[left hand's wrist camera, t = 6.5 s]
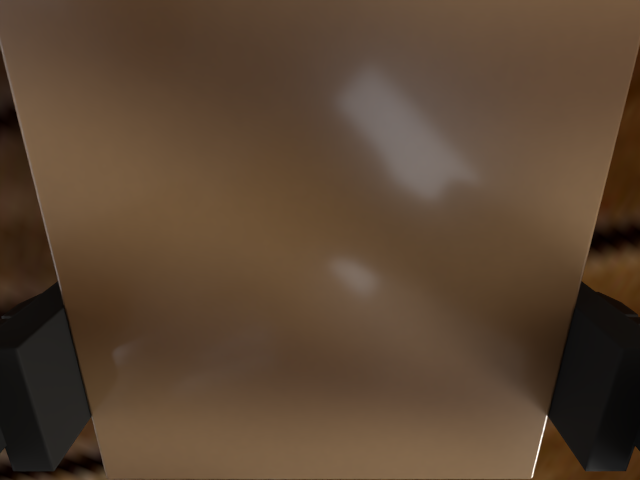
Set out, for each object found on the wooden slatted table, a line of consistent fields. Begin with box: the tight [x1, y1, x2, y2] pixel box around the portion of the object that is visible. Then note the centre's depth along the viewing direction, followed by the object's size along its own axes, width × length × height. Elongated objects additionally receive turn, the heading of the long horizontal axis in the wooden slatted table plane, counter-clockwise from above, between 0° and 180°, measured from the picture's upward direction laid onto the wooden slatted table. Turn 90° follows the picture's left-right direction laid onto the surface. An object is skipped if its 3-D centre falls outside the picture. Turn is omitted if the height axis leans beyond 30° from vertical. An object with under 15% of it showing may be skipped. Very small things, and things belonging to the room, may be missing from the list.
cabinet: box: [0, 0, 640, 479], centre depth 11 cm, size 18×10×9 cm, turn 0°
